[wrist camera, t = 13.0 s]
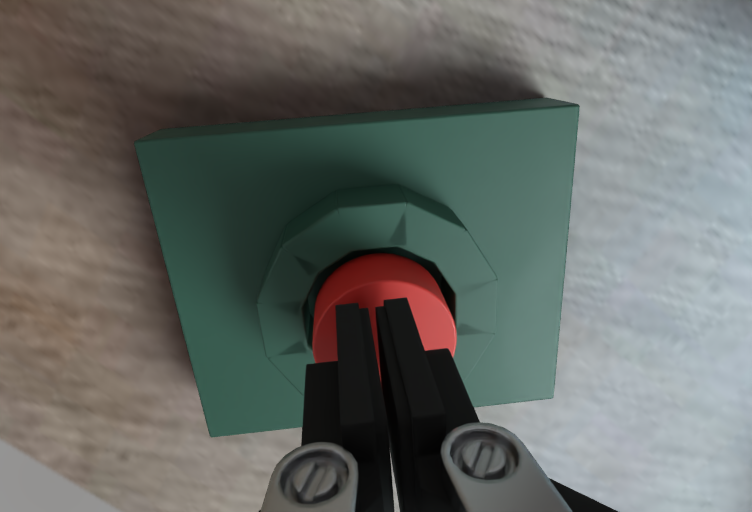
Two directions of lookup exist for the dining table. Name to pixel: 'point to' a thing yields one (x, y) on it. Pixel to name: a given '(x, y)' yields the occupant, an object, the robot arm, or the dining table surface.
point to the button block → (363, 240)
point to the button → (382, 301)
